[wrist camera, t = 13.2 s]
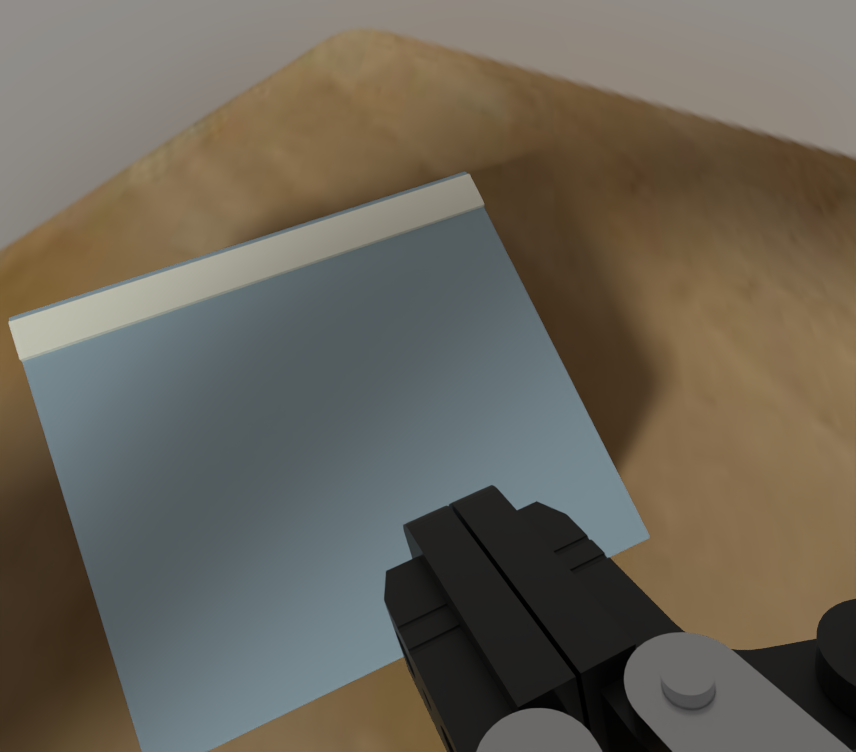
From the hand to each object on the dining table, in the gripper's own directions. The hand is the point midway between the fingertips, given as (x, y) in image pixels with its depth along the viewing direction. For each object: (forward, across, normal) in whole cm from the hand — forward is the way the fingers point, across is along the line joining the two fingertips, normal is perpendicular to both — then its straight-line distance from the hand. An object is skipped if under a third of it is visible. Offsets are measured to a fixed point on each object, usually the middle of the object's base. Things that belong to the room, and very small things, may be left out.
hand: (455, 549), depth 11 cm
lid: (+15, 0, +6) cm, 16 cm away
